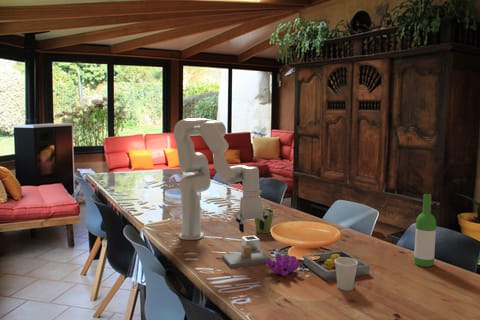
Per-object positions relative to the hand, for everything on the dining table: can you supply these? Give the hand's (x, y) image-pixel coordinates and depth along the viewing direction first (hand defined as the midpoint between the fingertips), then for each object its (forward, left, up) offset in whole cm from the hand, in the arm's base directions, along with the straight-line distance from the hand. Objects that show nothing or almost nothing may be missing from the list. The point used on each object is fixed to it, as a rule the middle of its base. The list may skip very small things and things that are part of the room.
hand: (251, 230), depth 196 cm
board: (+10, -6, -10) cm, 16 cm away
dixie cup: (+48, +19, -10) cm, 53 cm away
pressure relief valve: (+34, +26, -10) cm, 44 cm away
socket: (-1, 0, -10) cm, 10 cm away
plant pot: (-27, +17, -10) cm, 33 cm away
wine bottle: (+39, +63, -10) cm, 75 cm away
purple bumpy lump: (+28, +3, -10) cm, 30 cm away
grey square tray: (+31, +25, -10) cm, 41 cm away
